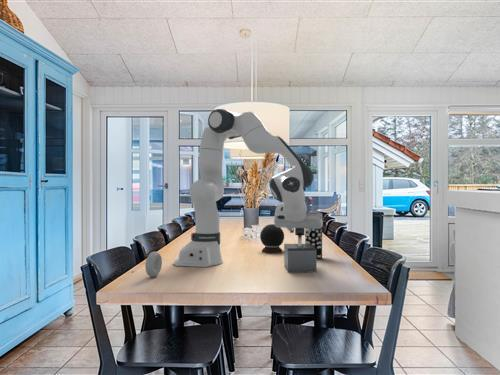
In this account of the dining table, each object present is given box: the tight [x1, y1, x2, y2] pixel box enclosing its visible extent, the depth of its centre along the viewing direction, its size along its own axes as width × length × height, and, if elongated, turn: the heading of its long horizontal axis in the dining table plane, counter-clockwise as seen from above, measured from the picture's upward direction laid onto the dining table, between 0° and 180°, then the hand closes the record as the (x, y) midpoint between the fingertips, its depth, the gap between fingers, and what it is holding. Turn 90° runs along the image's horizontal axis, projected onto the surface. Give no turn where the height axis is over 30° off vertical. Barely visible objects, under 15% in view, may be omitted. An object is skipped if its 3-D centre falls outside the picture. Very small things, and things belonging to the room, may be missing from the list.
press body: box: [283, 243, 318, 273], centre depth 160 cm, size 12×12×10 cm
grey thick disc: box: [144, 251, 163, 278], centre depth 146 cm, size 10×4×10 cm, turn 168°
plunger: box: [294, 228, 305, 247], centre depth 160 cm, size 8×8×17 cm
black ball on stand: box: [259, 223, 285, 254], centre depth 203 cm, size 13×13×15 cm
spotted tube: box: [304, 227, 323, 261], centre depth 184 cm, size 8×8×20 cm
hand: (300, 232), depth 160 cm, fingers open, 5 cm apart
